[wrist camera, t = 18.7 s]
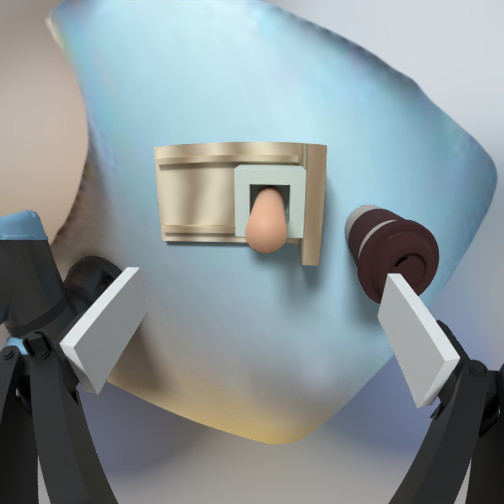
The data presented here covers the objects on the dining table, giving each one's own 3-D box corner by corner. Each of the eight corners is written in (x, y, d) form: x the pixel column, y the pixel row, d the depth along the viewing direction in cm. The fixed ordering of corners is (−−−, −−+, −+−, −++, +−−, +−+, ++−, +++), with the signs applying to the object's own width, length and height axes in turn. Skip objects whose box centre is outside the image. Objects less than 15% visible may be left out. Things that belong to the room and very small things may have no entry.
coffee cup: (393, 255, 40) (436, 308, 27) (334, 260, 41) (360, 319, 28) (397, 194, 37) (452, 226, 23) (334, 195, 38) (368, 230, 24)
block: (240, 222, 39) (235, 236, 34) (239, 164, 35) (234, 169, 30) (298, 224, 38) (302, 237, 33) (301, 165, 35) (306, 170, 30)
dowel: (257, 208, 36) (245, 252, 22) (257, 184, 35) (244, 212, 21) (282, 209, 36) (286, 253, 22) (282, 185, 35) (287, 213, 21)
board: (165, 238, 42) (143, 260, 34) (157, 146, 36) (131, 150, 29) (310, 240, 41) (318, 265, 33) (315, 143, 35) (326, 145, 27)
